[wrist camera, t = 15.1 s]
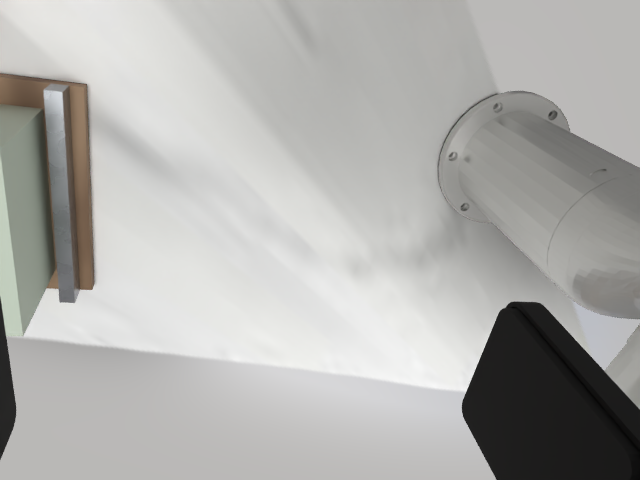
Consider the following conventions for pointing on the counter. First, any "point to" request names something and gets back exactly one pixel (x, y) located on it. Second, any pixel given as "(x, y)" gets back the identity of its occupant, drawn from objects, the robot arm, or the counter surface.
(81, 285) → the door track
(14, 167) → the pale green block
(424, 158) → the counter surface
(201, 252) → the counter surface
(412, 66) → the counter surface
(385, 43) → the counter surface
